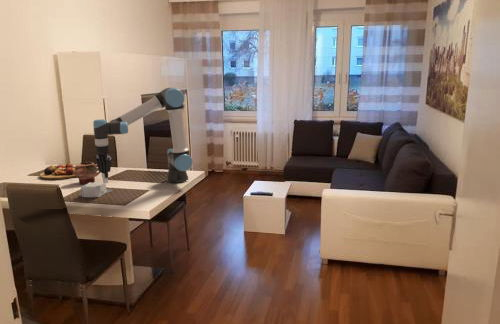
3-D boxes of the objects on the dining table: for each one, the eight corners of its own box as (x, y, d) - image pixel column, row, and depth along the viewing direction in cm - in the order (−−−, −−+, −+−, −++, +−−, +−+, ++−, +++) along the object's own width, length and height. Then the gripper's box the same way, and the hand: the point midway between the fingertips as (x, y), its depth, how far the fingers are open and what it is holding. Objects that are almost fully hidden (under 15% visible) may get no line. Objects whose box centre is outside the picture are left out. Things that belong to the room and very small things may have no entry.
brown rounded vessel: (98, 178, 278) (96, 159, 275) (107, 180, 270) (105, 161, 267) (71, 183, 263) (68, 164, 260) (79, 187, 255) (76, 166, 252)
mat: (114, 190, 246) (113, 190, 246) (90, 198, 230) (90, 198, 230) (102, 188, 251) (101, 188, 251) (78, 195, 235) (78, 195, 235)
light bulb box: (107, 192, 241) (91, 192, 242) (105, 182, 240) (89, 182, 241) (98, 197, 231) (81, 197, 232) (97, 186, 229) (80, 186, 231)
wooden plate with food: (90, 176, 284) (88, 165, 282) (41, 182, 267) (40, 171, 265) (81, 169, 310) (80, 159, 309) (37, 174, 293) (36, 163, 291)
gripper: (114, 145, 230) (117, 182, 235) (99, 143, 236) (103, 180, 241) (104, 147, 223) (108, 185, 229) (89, 145, 229) (93, 183, 234)
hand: (105, 182), depth 235 cm, fingers closed
